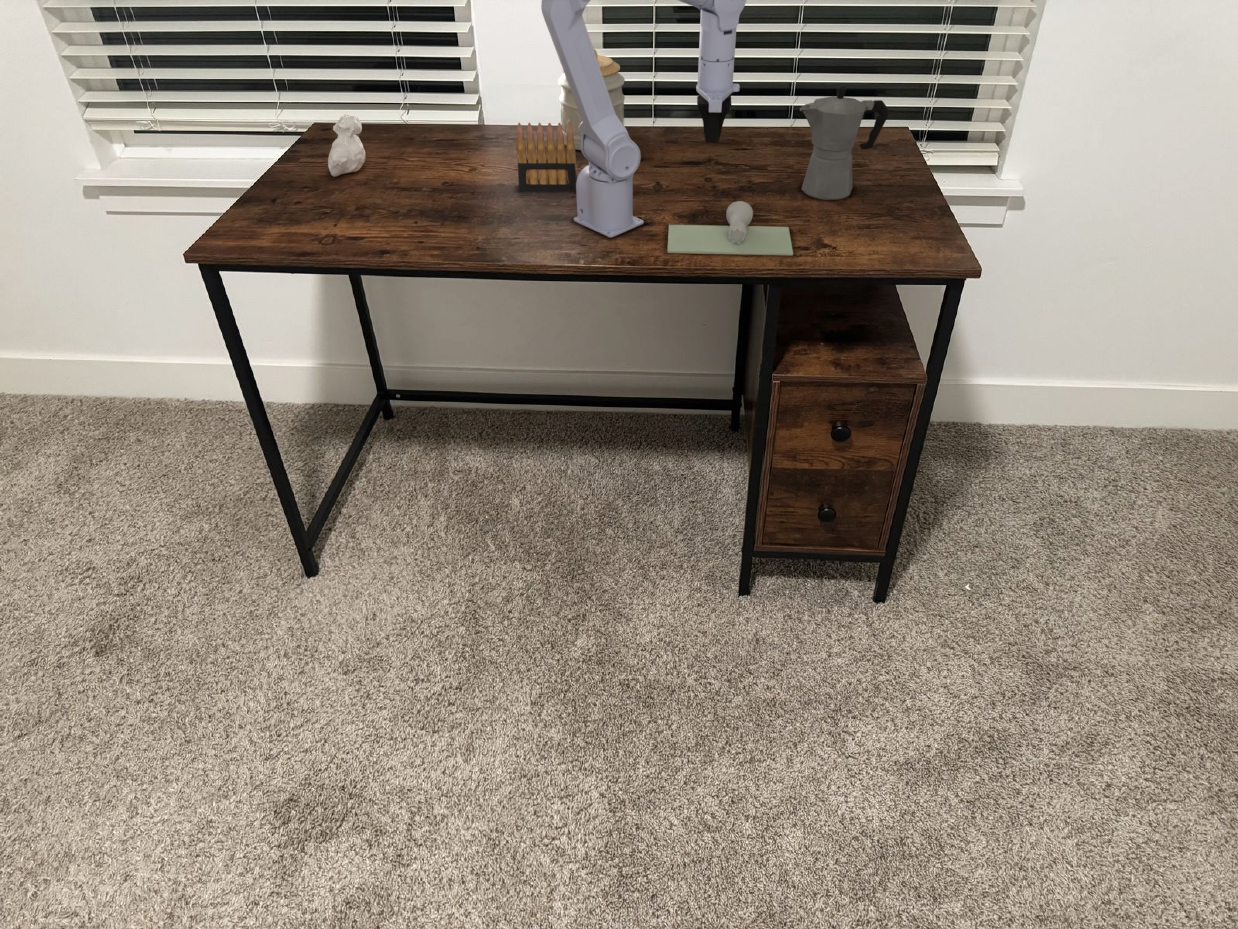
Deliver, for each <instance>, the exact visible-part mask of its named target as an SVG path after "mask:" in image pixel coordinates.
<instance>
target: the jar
mask: <svg viewBox="0 0 1238 929" xmlns="http://www.w3.org/2000/svg"><path fill="white" fill-rule="evenodd" d="M593 49H594V52H595V55H596V58H597V61H598V64H599V67H600V70H601V73H602V76H603V79H604V82H605V84H606V87H607V90H608V93H609V96H610V99H611V102H612V105H613V108H614V111H615V114H616V115H617V117H618V118H619V120H620V121H621V122H622V124H623V125H624V127H625V128H626V126H625V95H624V93H623V86H624V84H625V78H624V76H623V75H622V74H621V73H619V71H620V70H621V66H620V64H619V63H617V62H616V61H614V60H613V59H612V58H611V57H609V56H605V55H601V54H598V52H597V50H596V48H593ZM561 71H562V72H563V74H562V75H561V76H560V77H559V78H558V80H557V83H558V85H559V87H561V90H560V91H561V92H560V96H559V98H558V100H559V108H560V124H561V126H562V129H563V136H564V144H565V146H566V144H567V127H568V123H570V124H571V126H572V130H573V138H574V145H575V151H576V150H577V151H581V133H580V130H579V125H580V124H581V122H582V119H581V116H580V113H579V111H578V108H577V105H576V103H575V100H574V97H573V95H572V92H571V89H570V87H569V84H568V81H567V79H566V76H565V73H564V71H563V68H562V67H561Z"/></svg>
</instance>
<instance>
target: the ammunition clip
mask: <svg viewBox="0 0 1238 929" xmlns="http://www.w3.org/2000/svg"><path fill="white" fill-rule="evenodd" d="M526 127H527V128H526V143H525V136H524V130H523V127H522V124H521V122H518V123H517V127H516V154H517V155H516V156H517V174H518V175H517V176H518V191H519V192H576V182H577V178H578V173H577V172H578V171H577V156H576V149H575V145H574V138H573V130H572V126H571V124H570V123H568V127H567V144H566V145H565V144H564V136H563V129H562V126H561V122H558V124H557V128H556V143H555V135H554V130H553V125H552V124H551V122H548V124H547V128H546V143H545V135H544V134H545V133H544V128H543V125H542V124H541V122H538V124H537V129H536V141H535V136H534V130H533V126H532V123H531V122H528V124H527V126H526ZM535 142H536V144H535Z"/></svg>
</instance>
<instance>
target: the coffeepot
mask: <svg viewBox="0 0 1238 929" xmlns="http://www.w3.org/2000/svg"><path fill="white" fill-rule="evenodd" d="M846 91H847V87H845V86H843V85H842V86H837V87H836V96H835V95H832V96H826V97H820V98H816V99H814V101H813V102H810V103H806V104H804V105H801V106H800V108H799V112H801V113H803V114H804V115H803V116H805V119H806V121H807V123H808V126H809V127H810V128H809V129H810V130H811V144H812V145H813V148H812V153H811V155H810V158H809V162H808V165H807V168H806V172H805V175H804V179H803V182H802V185H801V191H802V192H803V193H804V194H806V195H807V196H809V197H811V198H814V199H817V200H823V201H836V200H837V201H838V200H842V199H845V198H847V197H849V196H850V195H851V193H852V190H853V154H852V152H853V148H854V146H855V143H856V141H857V136H858V135H859V134H858V133H859V131H860V127H861V124H862V121H863V117H864V114H871V113H876V112H877V113H878V115H877V117H876V119H875V121H874V125H873V128H872V129H871V130H870V132H869V135H868V139H867V141H866V142H863V143H860V144H859V146H860V149H861V150H869V149H872V148H873V147H874V144H875V143H876V141H877V139H878V137H879V135H880V133H881V131H882V129H883V128H884V125H885V123H886V122H887V120H888V118H889V115H890V110H889V108H888V106H887V105H886V103H885V102H884V101H883V100H882V99H876V100H875V99H874V100H873V99H871V100H870V99H869V100H868V99H867V100H858V99H856V98H853V97H846V96H845V94H846ZM844 96H845V97H844Z"/></svg>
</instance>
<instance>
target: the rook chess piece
mask: <svg viewBox="0 0 1238 929" xmlns="http://www.w3.org/2000/svg"><path fill="white" fill-rule="evenodd" d="M753 217H754V211H753V208H752V206H751V205H750V204H749V203H748V202H745V201H741V200H737V201H734V202H732V203H730V204H729V205H728V207H727V209H726V212H725V218H726V220H727V223H728V224H729V225H728V226H729V229H728V231H727V237H728V239H729V240H730V241H731V242H732V243H737V244H739V243H740V242H742V241H744V240H745V239H746V237H747V231H746V226H750V223H751V222H752V220H753Z"/></svg>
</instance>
